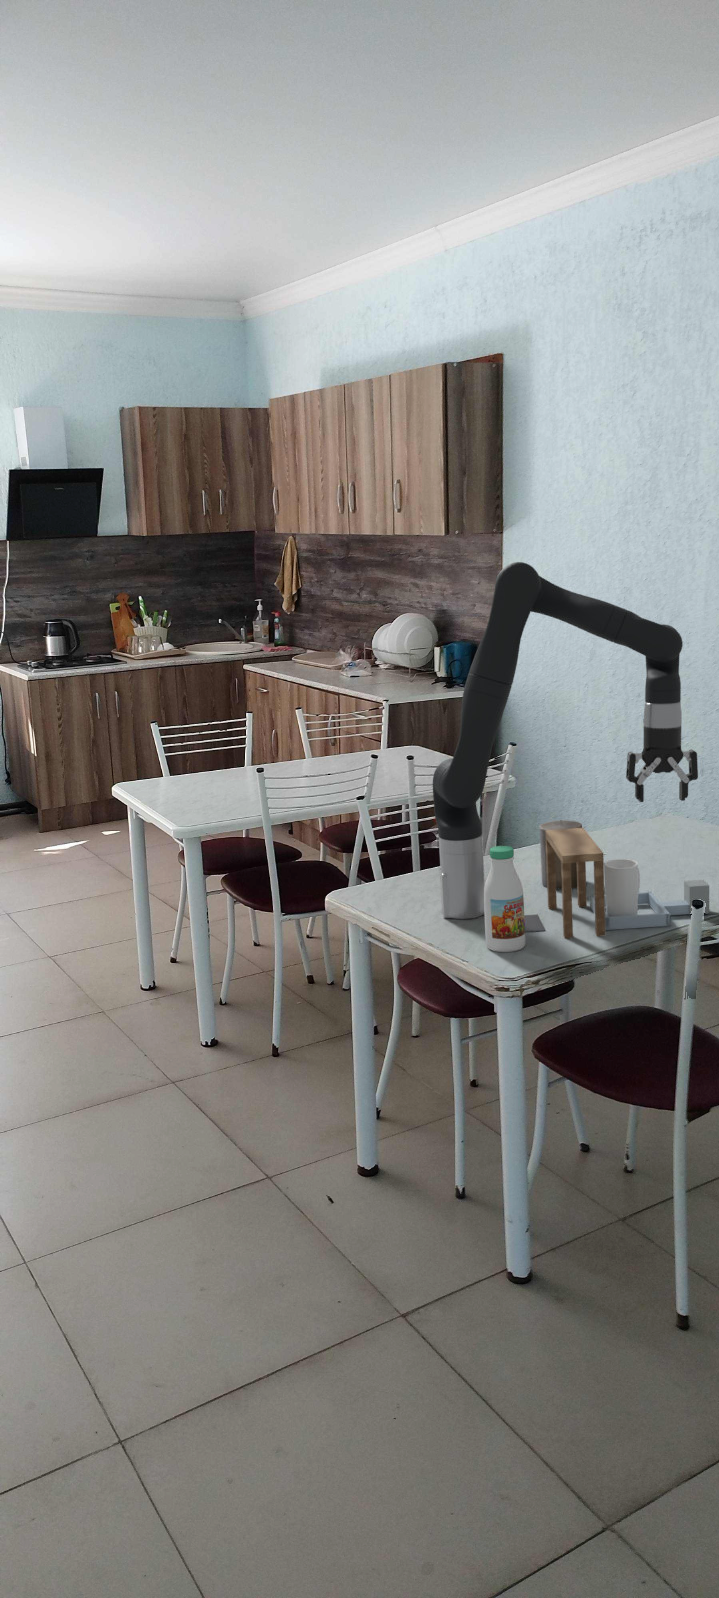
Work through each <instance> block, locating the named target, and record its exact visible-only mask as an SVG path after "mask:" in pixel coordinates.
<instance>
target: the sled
mask: <svg viewBox="0 0 719 1598" xmlns="http://www.w3.org/2000/svg"><path fill="white" fill-rule="evenodd" d="M683 893H684V894H683V895H684V896H683V899H682V900H681V899H680V900H670V901H669V900H668V901H660V900H659V898H657V896H656V895H655V894H654V893H653V892H652V891H650V890H649V891H639V895H638V905H647V904H648V905H649V906H650V908H651V909H652V910H653V911H654V913H648V914H647V913H645V914H644V913H643V914H638V915H629V916H614V917H608V916H607V914H606V912H605V931H608V930H622V929H623V930H624V929H637V928H639V929H640V928H651V927H665V926H666V927H667V926H671V916H678V915H679V916H680V915H690V913H691V911H692V908H691V902H692V901H693V900H695V899H701V900H703V901H705V903H706V907H705V914H706V915H707V914H710V884H708V882H706V881H705V879H695V880H684V881H683ZM604 902H605V908H606V899H605V894H604ZM589 907H590V909H591V910H592V912H593V913H594V914H595V894H594V895H589ZM705 914H704V915H705Z"/></svg>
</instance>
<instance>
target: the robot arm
mask: <svg viewBox="0 0 719 1598" xmlns="http://www.w3.org/2000/svg"><path fill="white" fill-rule="evenodd" d="M531 613H534V614H535V613H536V614H540V615H543V616H548V617H550V618H554V619H557V620H558V621H561V622H564V623H566V624H568V625H571V626H574V627H575V628H578V629H580V630H581V631H582V630H583V631H584V632H587V633H589V634H591V635H593V636H596V637H599V638H601V639H604V640H606V641H608V642H611V643H614V644H617V645H620V646H623V647H626V648H629V649H631V650H632V651H635V652H636V653H638V654H641V655H642V656H645V670H646V677H645V684H644V685H645V688H644V689H645V690H644V693H645V695H644V708H643V718H642V723H643V745H642V747H643V749H642V752H641V753H640V752H638V753H637V752H633V751H628V753H627V757H626V760H627V761H626V773H625V778H626V779H627V781H628V782H629V783H633V784H634V793H635V794H634V797H635V799H636V800H638V802H639V803H643V802H644V799H645V798H644V797H645V795H644V794H645V790H644V787H645V785H644V782H645V781H646V780H647V778H649V777H650V775H651V774H652V773H654V774H661V773H666V774H668V773H671V772H674V773H675V774H676V775H677V777H678V778H679V780H680V781H679V785H678V786H679V787H678V788H679V789H678V790H679V791H678V798H679V801H681V802H682V801H683V802H685V801H686V799H687V798H688V796H689V783H690V782H691V781H695V780H697V779H698V778H699V770H698V768H699V766H698V753H697V752H696V750H694V749H691V748H690V749H689V750H686V751H685V750H684V751H683V750H682V724H683V723H682V719H683V718H682V716H683V714H682V702H681V699H682V698H681V697H682V695H681V692H682V691H681V690H682V689H681V688H682V685H681V684H682V683H681V675H680V655H681V653H682V649H683V638H682V636H681V634H680V633H679V632H678V630H677V629H676V628H674V627H673V626H671V625H669V624H665V623H664V624H661V623H657V622H654V621H652V620H649V619H647V618H644V617H641V616H639V615H638V614H637V613H635V612H633V611H631V610H627V609H626V608H624V607H621V606H618V605H616V604H613V603H610V602H607V601H606V600H605V601H604V600H601V599H598V598H595V597H591V596H588V595H584V594H582V593H581V594H579V593H577V592H575V591H571V590H569V589H566V588H563V587H561V586H558V585H557V584H554V583H552V582H551V581H550V580H547V579H545V578H544V577H542V576H541V575H539V573H538V572H537V570H536V569H535V568H534V567H533V566H532V565H531V564H529V563H527V562H522V561H516V562H512V563H509V564H507V565H506V566H505V567H503V568H502V569H501V570H500V571H499V573H498V574H497V576H496V579H495V583H494V591H493V596H492V603H491V608H490V612H489V617H488V621H487V625H486V628H485V631H484V633H483V635H482V638H481V640H480V642H479V644H478V647H477V650H476V651H475V652H476V653H475V654H474V657H473V660H472V661H471V662H472V663H471V665H470V669H469V671H468V674H467V678H466V682H465V685H464V689H463V693H462V696H461V697H462V698H461V706H460V707H461V708H460V709H461V710H460V731H459V738H458V740H457V741H458V743H457V745H456V749H455V751H454V754H453V757H452V758H449V759H446V760H444V761H442V762H441V763H439V764H438V766H437V767H436V769H435V770H434V773H433V777H432V798H433V809H434V810H433V811H434V818H435V821H436V826H437V830H438V831H437V832H438V846H439V864H440V865H439V880H440V881H439V882H440V883H439V884H440V897H441V901H440V902H441V911H442V914H443V918H445V919H446V918H447V919H448V918H449V919H450V918H451V919H456V920H458V919H459V920H467V919H469V920H470V919H475V918H478V917H481V916H483V915H485V912H484V887H485V882H486V880H485V865H484V844H483V843H484V841H483V825H482V820H481V819H480V815H479V812H478V808H477V807H478V806H477V802H478V800H479V799H480V797H481V796H482V794H483V791H484V788H485V786H486V785H485V784H486V781H487V775H488V774H487V773H488V769H489V764H490V758H491V753H492V749H493V745H494V743H495V740H496V737H497V733H498V731H499V728H500V725H501V722H502V721H501V720H502V718H503V715H504V711H505V709H506V706H507V703H508V699H509V697H510V693H511V691H512V686H513V683H514V680H515V675H516V670H517V665H518V659H519V654H520V646H521V642H522V641H521V640H522V636H523V633H524V629H525V626H526V625H527V622H528V620H529V616H530V614H531ZM683 758H685V761H687V762H688V773H687V774H686V773H685V772H684V770H683V768H681V766H679V764H680V763H681V761H682V760H683ZM640 760H642V761H643V762H644V765H643V766H642V768H641V769H640V772H638V774H637V775H636V764H638V763H639V761H640Z"/></svg>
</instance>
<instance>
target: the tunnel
mask: <svg viewBox="0 0 719 1598" xmlns="http://www.w3.org/2000/svg"><path fill="white" fill-rule="evenodd" d="M545 833H546V862H547V887H546V889H547V907H548V909H549V910H556V909H557V908H558V905H557V904H558V903H557V901H558V900H557V889H556V870H555V852H556V854H557V856H558V857H559V859H560V860H561V873H562V889H561V895H562V896H561V897H562V899H561V900H562V901H561V902H562V925H563V926H562V930H563V931H562V932H563V933H562V934H563V938H564V939H573V938H574V928H573V927H574V925H573V923H574V922H573V896H572V895H573V893H572V889H573V888H572V887H571V863H575V862H577V887H576V888H577V889H576V890H577V891H576V892H577V893H576V894H577V906H578V907H579V908H586V907H587V906H588V905H587V904H588V903H587V873H586V872H587V869H586V867H587V866H586V863H588V862H593V878H594V879H593V880H594V881H593V882H594V883H593V884H594V887H593V888H594V895H595V913H594V920H595V924H594V926H595V935H596V936H597V937H606V930H605V913H606V907H605V902H604V895H605V877H604V863H605V861H604V852H603V850H601V848H600V847H599V846H598V845H597V843H596V842H595V841H594V839H593V838H592V837H591V836H590V834H589V833H588V832H587V830H586V829H585V828H584V827H582V828H573V829H558V830H545Z"/></svg>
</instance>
